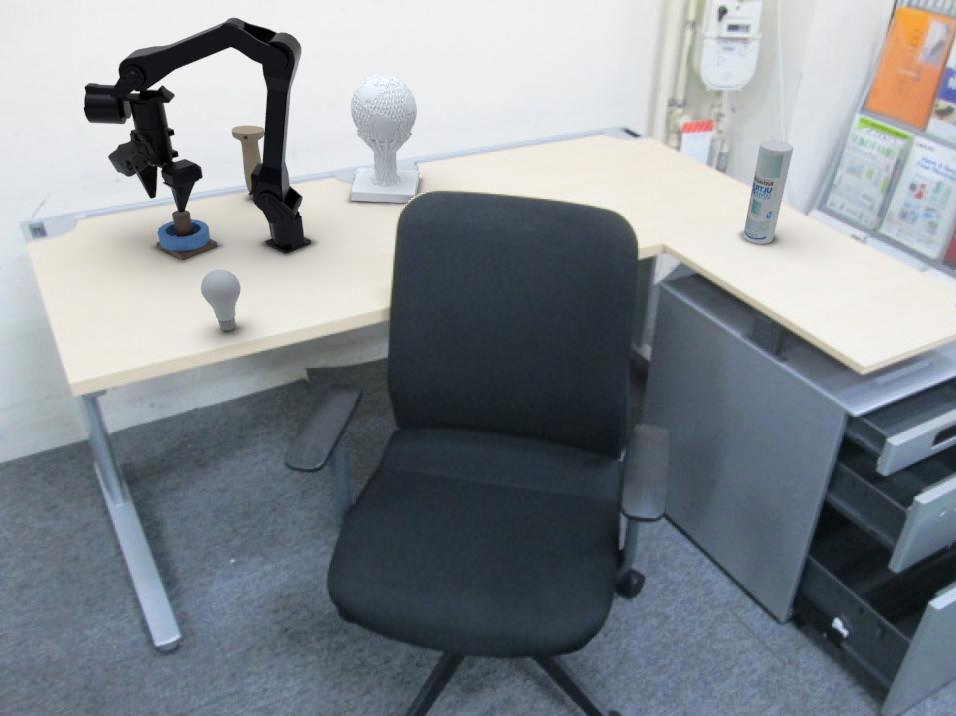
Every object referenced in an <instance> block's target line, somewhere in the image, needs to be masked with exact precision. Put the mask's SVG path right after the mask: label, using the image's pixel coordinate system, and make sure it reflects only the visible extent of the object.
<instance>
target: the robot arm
mask: <svg viewBox="0 0 956 716" xmlns="http://www.w3.org/2000/svg"><path fill="white" fill-rule="evenodd" d="M230 48H232V49H234V50H237V51H238V52H240V53H241V54H242V55H244V56H245V57H247V58H249V59H250V60H251V61H253V62H254V63H258V64H259V65H261V66H262V75H263V80H264V83H265V87H266V101H265V102H266V103H265V117H264V136H263V146H262V148H263V149H262V160H261V162H262V164H260V163H257V165H256V166H255V168H254V170H253V172H252V173H251V184H252V187H251V191H250V192H248V196H249V195H252V194H253V199H252V202H253V205H254V206H256V207H257V209H258V210H260V211H262V214H263V216H264V217H265V219H266V221H267V223H268V227H269V235H270V238H268V239H266V240H265V241H264V242H265V243H264V244H265V245H268V246H270V247H272V248H273V249H276V250H278V251H280V252H282V253H285V254H288V253H290V252H293V251H295V250H298V249H300V248H302V247H305V246H308V245H309V244H311V243H312V240H311V238H308V237H305V234H304V233H305V231H304V225H303V224H304V223H303V216H302V215H301V212H300V211H299V209H300V207H301V206H302V202H303V195H301V194H300V193H299V192H298V191H297V190H296V189H294V188H293V186H291V185H290V176H289V170H288V167H287V163H286V157H287V156H286V153H287V142H288V131H289V117H290V107H291V105H290V104H291V93H292V87H293V85H294V84H293V83H294V80H295V78H296V74H297V71H298V68H299V64H300V60H301V57H302V45H301V43H300V42H299V40H298V39H297V38H296V37H295V36H294V35H292V34H291V33H288V32H283V31H282V32H281V31H280V32H277V31H274V30H272V29H271V28H267V27H263V26H260V25H256V24H253V23H249V22H247V21H245V20H242V19H240V18H239V17H229V18H228V19H226V20H225V21H224V22H222V23H219V24H217V25H214V26H211V27H208V28H207V29H205V30H201V31H199V32H196V33H194V34H192V35H189V36H187V37H185V38H183V39H180V40H178V41H175V42H173V43H170V44H165V45H155V46H153V45H152V46H148V47H143V48H138V49H135V50H134V51H132V52H131V53H130V54H128V55H127V56H126V57H125V58H124V59H122V60H121V62H120V63H119V65H118V69H117V71H118V76H119V77H118V79H117V81H116V83H115V84H100V83H95V82H88V83H87V84H86V85H85V86H84V91H85V94H84V101H83V105H84V106H83V112H84V116H85V118H86V120H87V121H88V123H91V124H105V125H125V124H126V122H127V120H129V119H131V117H132V121H133V126H134V129H131V130H130V133H129V137H130V140H129V141H127V142H123V143H120V144H118V146H117V147H116V149H115V150H114V151H112V152H111V153H110V154H109V155H108V156H107V158H108V160H109V162H110V163H111V164H112V166H113V167H114V169H115V171H116V172H117V173H119V174H122V175H124V176H125V177H126V178H127V177H128V178H131V177H133V176H135V175H136V176H137V178H138V180H139V182H140V183H141V185H142V187H143V189H144V190H145V192H146V194H147V196H148V198H149V199H151V200H152V199H155V198H157V190H158V171H159V170H158V168H160V169H161V170H160V174H161V178H162V179H163V182H162V184H163V185H165V186H167V187H168V188H169V189H170V190H171V195H172V196H173V200H174V203H175V206H176V208H177V209H176V210H177V211H178V212H180V213H181V212H184V211H185V210H186V208H187V207H188V206H187V205H188V203H189V200H190V197H191V194H192V191H193V188H194V187H195V184H196V183H197V182H199V181H200V180H202V179H203V177H204V175H203V169H202V166H200V165H199V164H197V163H195V162H193V161H190V160H189V159H186V158H183V159H180V160H176V161H174V159H175V158H179V157H180V156H179V151H178V150H175V149H174V148H173V144H172V143H173V142H172V139H171V137H173V136H175V135H176V134H175V130H174V129H173V128H171V127H169V123H168V117H167V112H166V108H165V107H166V106H165V104H170V103H171V102H172V100H173V99H174V98H175V97H176V96H175V93H174V92H172V91H171V90H169V89H168V88H166V86H165V85H163V84H162V85H160V87H159V88H157V89H150V88H151V87H153V86H155V85H156V84H157V83H159V82H160V81H161V80H163V79H164V78H166V77H167V76H168V75H169V74H171V73H173V72H174V71H175V70H178V69H181V68H183V67H185V66H188V65H190V64H193V63H195V62H198V61H200V60H202V59H205V58H208V57H210V56H212V55H215V54H218V53H220V52H222V51H226V50H227V49H230Z"/></svg>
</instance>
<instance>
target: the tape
mask: <svg viewBox="0 0 956 716" xmlns="http://www.w3.org/2000/svg"><path fill="white" fill-rule="evenodd" d="M191 222H192V227H193V232H194V234H193V235H189V236H184V237H176V232H175V227H174V222H173V220H171V221H169V222H167V223H166V222H165V223H164V224H162V225H161V226H159V227H158V230H157V238H158V242H160V245H161V246H162V247H163V248H165V249H167V250H172V251H189V250H194V249H198V248H200V247H203V246H205V245H206V244H207V243H208V242H209V241H210V239H211V232H210V226H209V225H208V224H207V223H206V222H205V221H202V220H199V219H192V218H191Z"/></svg>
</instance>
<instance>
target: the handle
mask: <svg viewBox="0 0 956 716" xmlns="http://www.w3.org/2000/svg"><path fill="white" fill-rule="evenodd" d="M264 131H265V127H262V126H258V125H239V126H234V127H233V128H231V135H232V138H234V139H236V140H238V141H240V144H241V151H242V164H243V165H242V166H243V175H244V180H245V185H246V188H247V191H248V193H250V191H251V187H252V184H251V173H252V172H253V170H254V168H255V166H256V165H257V163H260V164H262V158H261V152H260V147H259V146H260V145H259V141H260V140H261V139H263V138H264ZM248 197H249V199H250V200H253V194H252V195H249V194H248Z"/></svg>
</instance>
